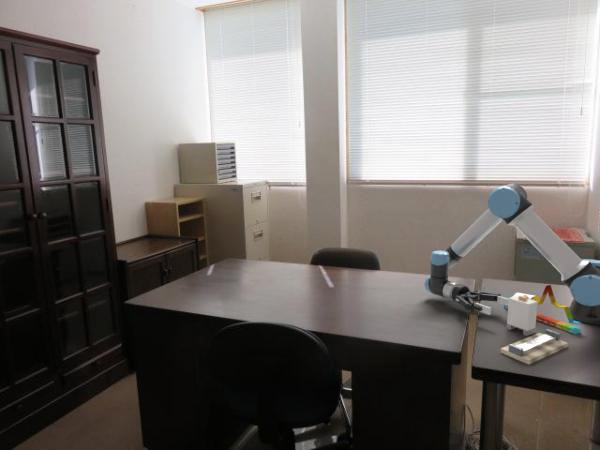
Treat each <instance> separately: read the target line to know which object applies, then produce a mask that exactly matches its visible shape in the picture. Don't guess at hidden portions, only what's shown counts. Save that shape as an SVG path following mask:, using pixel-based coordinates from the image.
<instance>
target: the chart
mask: <svg viewBox="0 0 600 450" xmlns="http://www.w3.org/2000/svg"><path fill="white" fill-rule="evenodd" d="M547 295H548V297H549V301H550V304H551V305H553V306H555V307H556V308H558V309H562V310H564V313H565V315H566V319H567V321H568V322H569V323H566V322H563V321H561V320H558V319H555V318H552V317H549V316H547V315H543V314H541V313H538V312H537V314H536V321H538V322H540V323H544V324H545V325H549V326H550V327H553V328H554V327H555V328H557V329H559V330H562V331H566V332H568V333H570V334H573V335H577V334H580V333H581V330H582V329H581V328H580V327H577V326H578V325H580V324H582V322H580V321H577V320H575V319H573V317H572V314H571V312H570V309H569V307H570V306H568V305H562V304H560V303H559V302H557V301H556V297H555V295H554V291H553V288H552V285H551V284H547V285H545V287H544V290H543V292H542V295H541V298H540V297H539V296H538V295H534V296H533V297H532V298H531V299H530V300H533V299H535V300H534V301H537V306H538V305H543V304H544V302H545V299H546V298H547ZM524 296H525V297H527V296H526V295H524ZM505 298H507V299H509V298H511V297H510V296H507V297H505ZM527 299H529V298H528V297H527ZM503 309H506V310H508V306H506V305H503ZM575 325H577V326H575Z"/></svg>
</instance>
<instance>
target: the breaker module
mask: <svg viewBox="0 0 600 450" xmlns="http://www.w3.org/2000/svg"><path fill="white" fill-rule="evenodd" d="M513 296H514V295H513ZM513 296H511V297H510V298H509V301H508V309H507V318H506V321H507V322H506V329H507V330H509V331H511V330H514V329H521V330H522V335H523V336H525V337H529V336H530V335H531V336H532V335H534V334H535V333H536V329H537V328H536V325H537V324H536V323H537V320H536V314H537V313H538V312H537V311H538V303H537V301H535V300H530V299H527V297H525V296H522V295H521V296H514V297H513Z"/></svg>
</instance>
